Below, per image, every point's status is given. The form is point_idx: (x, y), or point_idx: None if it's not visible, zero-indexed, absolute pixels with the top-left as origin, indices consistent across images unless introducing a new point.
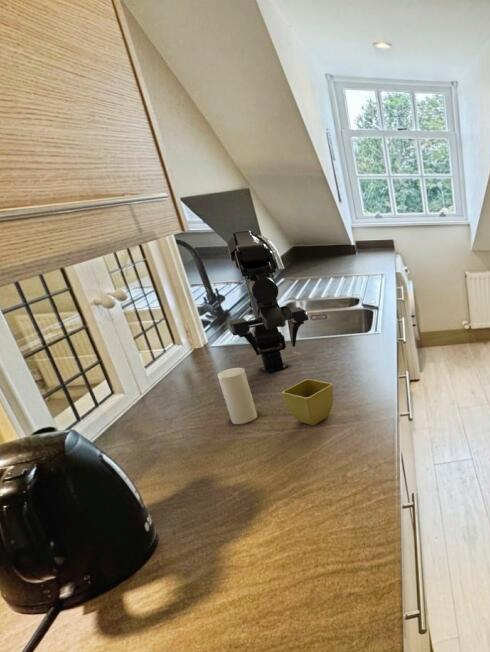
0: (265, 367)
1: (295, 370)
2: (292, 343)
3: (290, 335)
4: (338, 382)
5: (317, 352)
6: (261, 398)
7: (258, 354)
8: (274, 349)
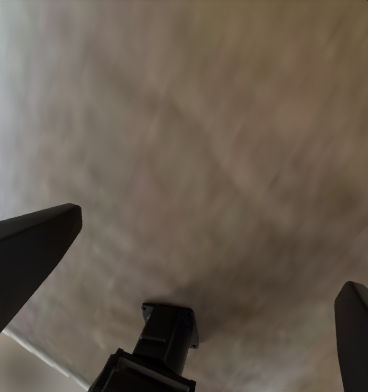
0: (190, 335)
1: (138, 272)
2: (64, 227)
3: (15, 295)
4: (71, 86)
5: (63, 308)
6: (305, 193)
7: (358, 285)
8: (142, 367)
